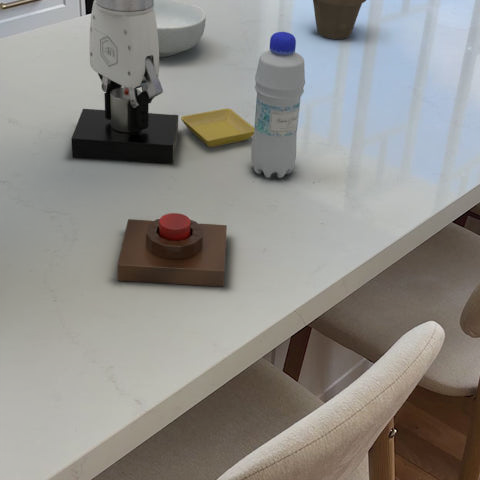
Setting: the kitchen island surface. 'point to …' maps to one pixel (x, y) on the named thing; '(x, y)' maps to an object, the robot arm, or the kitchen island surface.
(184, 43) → the cereal bowl
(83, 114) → the black knob base
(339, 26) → the flower pot
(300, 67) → the bottle
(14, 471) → the kitchen island surface
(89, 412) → the kitchen island surface
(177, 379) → the kitchen island surface
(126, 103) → the dial knob
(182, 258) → the button block
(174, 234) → the button
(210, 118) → the saucer
